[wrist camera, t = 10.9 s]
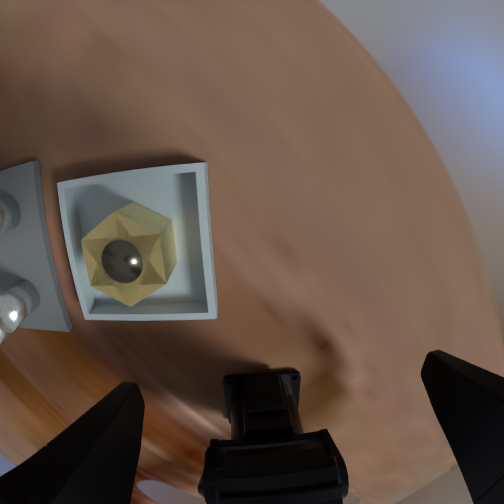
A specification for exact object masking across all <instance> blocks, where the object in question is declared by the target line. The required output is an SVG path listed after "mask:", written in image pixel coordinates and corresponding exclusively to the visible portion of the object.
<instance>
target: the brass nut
mask: <svg viewBox="0 0 504 504" xmlns="http://www.w3.org/2000/svg"><path fill="white" fill-rule="evenodd" d="M81 243H82V249H83V254H84V259H85V264H86V269H87V273H88V278H89V282H90V286H92V287H93V288H95V289H97V290H99V291H101V292H103V293H105V294H106V295H108V296H110V297H112V298H114V299H116V300H118V301H120V302H122V303H124V304H126V305H128V306H130V307H132V306H133V305H135V304H136V303H138V302H139V301H141V300H143V299H144V298H146V297H147V296H149V295H150V294H152V293H153V292H155V291H156V290H158V289H159V288H161V287H163V286H164V285H166V284H167V282H168V280H169V278H170V276H171V274H172V272H173V270H174V268H175V266H176V264H177V255H176V246H175V237H174V228H173V220H171V219H169V218H167V217H165V216H163V215H161V214H159V213H157V212H155V211H153V210H151V209H149V208H147V207H145V206H143V205H141V204H139V203H137V202H133V203H131V204H128V205H126V206H124V207H122V208H120V209H118V210H116V211H114V212H113V213H112V214H111V215H109V216H108V217H107V218H106V219H105V220H103V221H102V222H101V223H100V224H99V225H98V226H96V227H95V228H94V229H93V230H92V231H91V232H90V233H88V234H87V235H86V236H85V237H84V238H83V239H82V240H81Z"/></svg>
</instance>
